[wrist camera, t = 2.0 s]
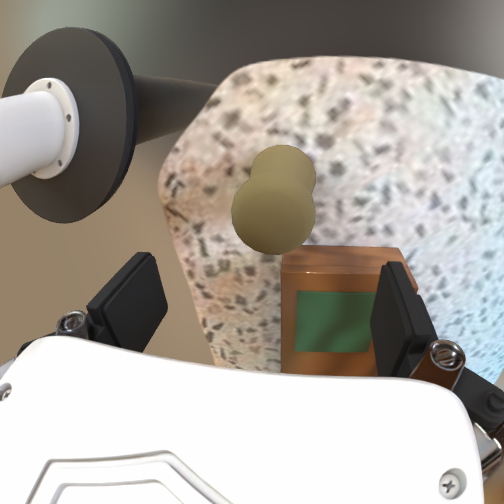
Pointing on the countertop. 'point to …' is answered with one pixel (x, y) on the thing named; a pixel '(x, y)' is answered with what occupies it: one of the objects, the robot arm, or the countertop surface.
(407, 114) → the countertop surface
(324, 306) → the wooden shelf
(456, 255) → the countertop surface
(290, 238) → the cork
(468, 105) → the countertop surface
